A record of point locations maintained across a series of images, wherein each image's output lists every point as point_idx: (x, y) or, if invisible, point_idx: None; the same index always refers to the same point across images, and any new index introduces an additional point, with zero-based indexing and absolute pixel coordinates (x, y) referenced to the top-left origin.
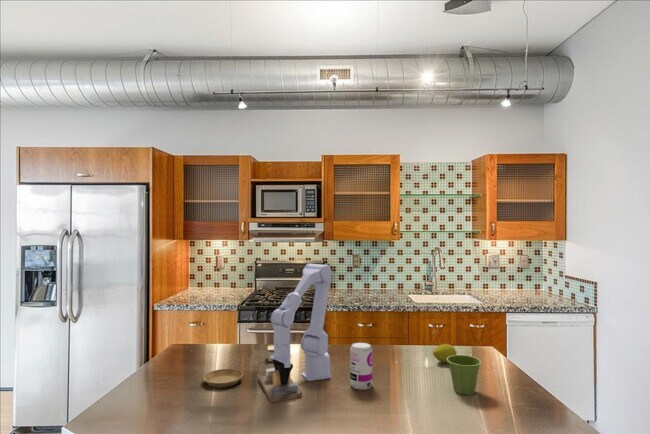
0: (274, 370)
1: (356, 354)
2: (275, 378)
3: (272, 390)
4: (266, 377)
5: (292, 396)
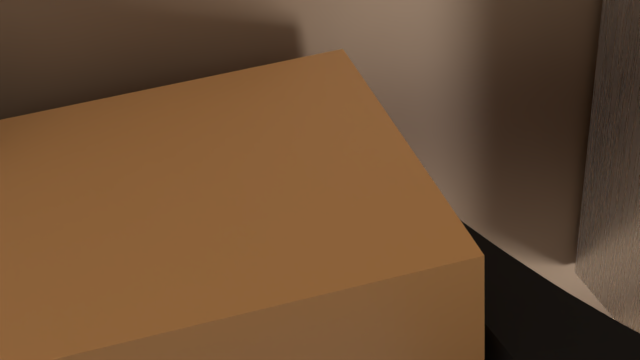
0: (476, 317)
1: None
2: (12, 258)
3: (121, 16)
4: None
5: None
